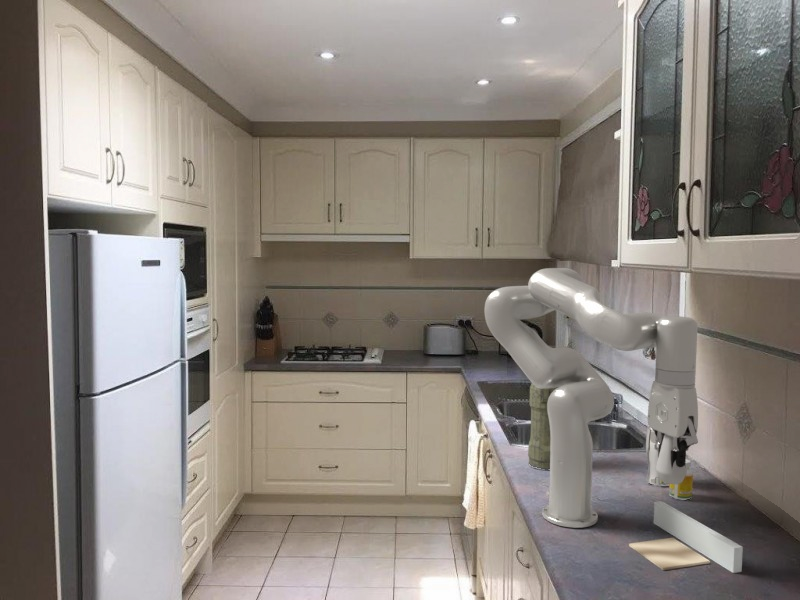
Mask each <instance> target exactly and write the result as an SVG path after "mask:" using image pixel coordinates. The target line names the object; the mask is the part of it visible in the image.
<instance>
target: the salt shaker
mask: <svg viewBox="0 0 800 600" xmlns="http://www.w3.org/2000/svg"><path fill="white" fill-rule="evenodd" d="M681 441H682V439H679V443H680V442H681ZM671 450H673V437H671V436H669V435H666V434H664V438H663V442H662V446H661V450H660V453H659V457H658V461H657V465H656V470H657V473H658V476H659V478H660V481H662V482H665V483H667V484H676V485H677V484H680V483H682V482H683V480H684V478H685V476H686V473H687V469H686V463H685V465H684V466H683V467H678V466H677V465H676V460H675V462H674V464H673V467H671Z"/></svg>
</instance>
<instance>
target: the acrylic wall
mask: <svg viewBox="0 0 800 600" xmlns="http://www.w3.org/2000/svg"><path fill="white" fill-rule="evenodd" d="M653 524H654V525H656V526H658V527H659V528H660V529H662V530H664V531H665V532H667V533H669V534H670V535H672V536H673V537H674V538H675V539H678V540H680V542H682V543H683V544H684V543H685V545H688V547H690V548H691V549H693V550H696V552H699V554H700V553H701V555H704V556H705V557H707V558H708V559H709V560H712V561H713V562H715V563H716V564H718V565H720V566H721V567H723V568H725V570H727V571H729V572H731V573H733V574H736V573H741V572H742V571H743V570H742V568H743V550H744V549H743V548H744V547H743V546H742V545H740V544H738V543H736V542H735V541H734V540H731V539H730V538H728V537H726V536H724V535H722V534H721V533H719V532H717V531H716V530H714V529H711V528H710V527H708V526H706V525H705V524H703V523H701V522H699V521H697V520H696V519H694V518H692V517H691V516H689V515H687V514H685V513H683V512H682V511H680V510H679V509H676V508H674V507H673V506H671V505H670V504H667V503H665V502H664V501H663V500H662V501H654V504H653Z"/></svg>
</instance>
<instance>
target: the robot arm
mask: <svg viewBox="0 0 800 600" xmlns="http://www.w3.org/2000/svg"><path fill="white" fill-rule="evenodd" d="M527 284H528V285H513V286H511V285H510V286H504V287H503V286H502V287H499V288H496V289H494V290H493V291H491V293H490V294H488V296H487V297H486V300H485V303H484V310H483V311H484V318H485V319H484V320H485V323H486V325H487V328H488V329H489V331H490V333H491V334H492V336H493V338H494V339H496V342H497V341H498V343H499V344H500V345H501V346H502V347H503V349H505V351H506V352H507V353H508V355H510V356H511V358H512V359H513V361H514V362H515V363H516V365H517V366H518V367H519V368H520V370H521V371H522V372H523V374H524V375H525V376H526V378H527V379H528V380H529V381H530V382H531V383H533V384H534V385H535V386H536V387H537V388H540V389H550V388H556V387H558V388H557V389H555V390H554V391H553V392H552V393H551V394H550V396H549V398H548V402H547V411H548V417H549V423H550V436H551V441H550V470H549V490H546V492H545V495H546V497H548V503H547V504H546V505H545V506H544V507H543V508H542V510H541V513H542V514H541V515H542V517H543V518H544V519H545V520H546V521H548V522H549V523H551V524H554V525H557V526H559V527H563V528H565V527H566V528H573V529H582V528H589V527H592V526H594V525H595V524H596V523H598V521H599V517H598V516H599V514H598V512H596V511H595V509H593V508H592V487H593V485H592V484H593V448H594V447H593V446H594V445H593V438H592V435H591V432H590V430H589V424H588V423H591V422H593V421H596V420H600V419H603V418H605V417H607V416H608V415H609V414H610V413H611V412H612V410H613V408H614V405H615V400H614V399H615V398H614V394H613V391H612V390H611V388H610V386H609V385H608V383H606V381H605V379H604V378H602V376H601V375H600V374H599V373H598V372H597V370H595V368H594V367H593V366H592V365H591V364H590V363H589V362H588V360H587V359H586V358H585V356H583V355H582V354H581V353H580V352H578V351H577V349H576V350H575V349H573V348H572V347H568V346H558V347H555V348H551V347H549V346H550V345H549V346H548V344H547V343H546V341H545V342H544V340H543V339H542V338H541V337H540V335H539V334H538V333H537V331H535V330H534V329H533V328H531V327H530V326H528V325H527V324H526V323H524V322H523V321H522V320H527V319H535V318H539V317H542V316H545V315H548V314H550V313H552V312H555V311H556V312H558V313H561V314H562V315H565V316H566V317H569V318H570V319H572V320H574V321H575V322H577V323H578V325H579V327H581V329H582V330H583V331H584V332H585V333H586V334H587V335H588V336H590V337H592V339H596V340H597V341H599V342H600V343H603V344H605V345H607V346H609V347H611V348H613V349H615V350H619V351H624V352H632V351H636V350H638V351H639V350H643V349H650V348H655V365H654V366H655V370H654V371H655V375H654V380H653V381H652V384H651V388H650V393H649V400H648V406H647V407H648V409H647V425H648V426H650V427H651V428H652V429H653V431H654V432H655V435H656V437H657V443H658V444H660V445H659V448H658V457H659V453H660V450H661V446H662V442H663V438H664V434H666V435H669V436H671V437H673V450H671V467H673V464H674V462H675V460H676V465H677V466H678V467H683V466H684V465H685V463H686V459H687V452H688V451H689V448H690V447H691V446H694V445H697V444H698V443H699V440H698V437H697V433H698V428H699V427H698V426H699V407H698V404H699V403H698V394H697V388H696V375H697V373H696V371H697V370H696V369H697V352H698V351H697V350H698V348H697V347H698V322H697V321H696V320H695V319H694V318H692V317H687V316H677V315H674V316H673V315H672V316H670V315H669V316H668V315H663V314H660V313H655V312H651V311H647V312H636V313H635V312H634V313H624V312H623V313H622V312H620V311H618V310H615V309H613V308H611V307H609V306H606V305H604V304H602V302H601V294H600V292H599V290H598V289H597V288H596V287H594V286H592V285H590V284H587V283H585V282H584V281H583V278H582V277H581V275H580V274H579V273H578V272H577V271H576V270H574V269H571V268H569V267H568V268H567V267H560V268H559V267H558V268H557V267H549V268H548V267H546V268H542V269H539V270H537V271H536V272H534V273H533V274H532V275H531V276H530V278H529V280H528V282H527ZM679 439H682V441H681V442H680V443H679Z"/></svg>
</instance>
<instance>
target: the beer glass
mask: <svg viewBox="0 0 800 600" xmlns="http://www.w3.org/2000/svg"><path fill="white" fill-rule="evenodd" d="M659 445H660V444H658V443H657V437H656V435H655V432H654V431H653V429H652V428H651V427H650V426H649V425H648V426H647V428H646V438H645V451H646V460H647V466H648V469H647V475H646V481H647V482H648V483H650V484H654V485H668V484H667V483H665V482H662V481H660V478H659V476H658V473H657V470H656V465H657V461H658V448H659ZM647 482H646V483H647ZM648 483H647V484H648ZM650 484H649V485H650Z"/></svg>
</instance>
